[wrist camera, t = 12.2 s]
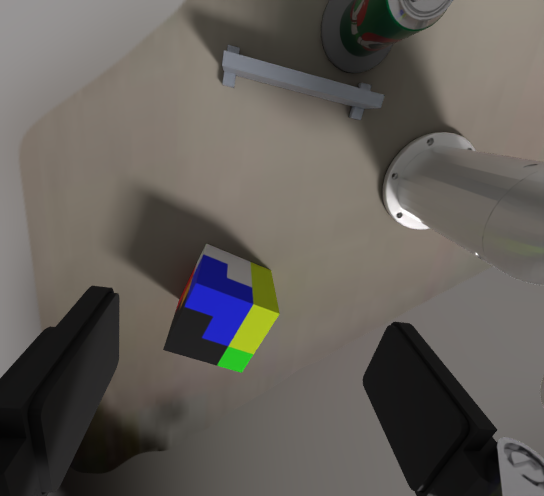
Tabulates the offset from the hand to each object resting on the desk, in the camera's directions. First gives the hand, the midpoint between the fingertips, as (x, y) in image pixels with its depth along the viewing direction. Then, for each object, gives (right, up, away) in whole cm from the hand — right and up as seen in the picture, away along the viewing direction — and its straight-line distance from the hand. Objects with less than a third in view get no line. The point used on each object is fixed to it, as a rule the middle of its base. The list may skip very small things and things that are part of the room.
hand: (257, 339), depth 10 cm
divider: (+3, +21, +22) cm, 31 cm away
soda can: (+10, +26, +20) cm, 34 cm away
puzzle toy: (-6, -2, +32) cm, 33 cm away
